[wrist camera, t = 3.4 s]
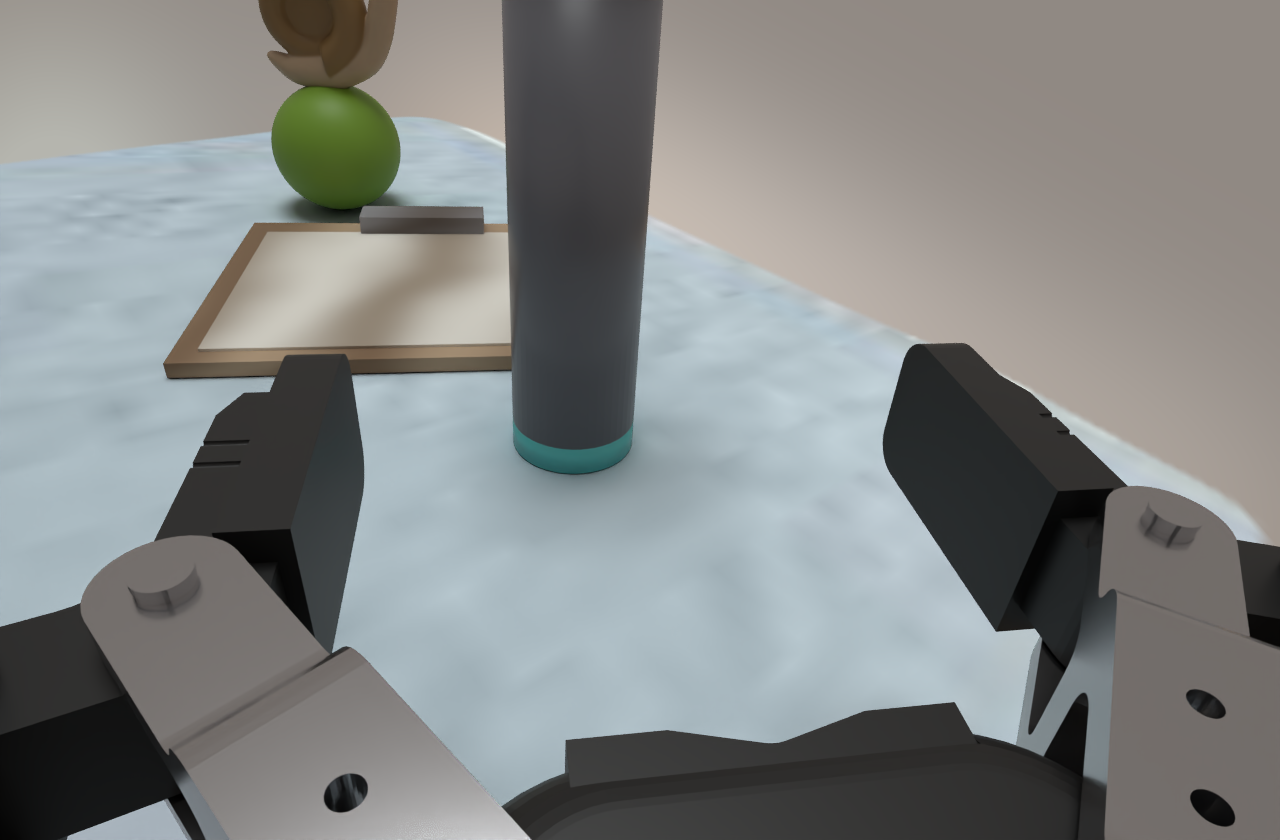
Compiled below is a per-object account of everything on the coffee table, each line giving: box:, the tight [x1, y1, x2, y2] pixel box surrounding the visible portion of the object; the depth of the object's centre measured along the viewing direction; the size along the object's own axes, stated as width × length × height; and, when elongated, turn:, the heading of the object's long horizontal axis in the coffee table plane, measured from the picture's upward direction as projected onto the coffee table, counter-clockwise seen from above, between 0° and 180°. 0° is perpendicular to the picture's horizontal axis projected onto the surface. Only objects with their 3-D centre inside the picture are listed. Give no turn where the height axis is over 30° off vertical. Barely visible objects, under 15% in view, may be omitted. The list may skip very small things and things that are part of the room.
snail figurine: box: [259, 0, 400, 209], centre depth 35 cm, size 5×6×12 cm
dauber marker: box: [502, 0, 663, 474], centre depth 20 cm, size 3×3×13 cm
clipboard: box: [163, 206, 512, 378], centre depth 31 cm, size 14×12×1 cm
